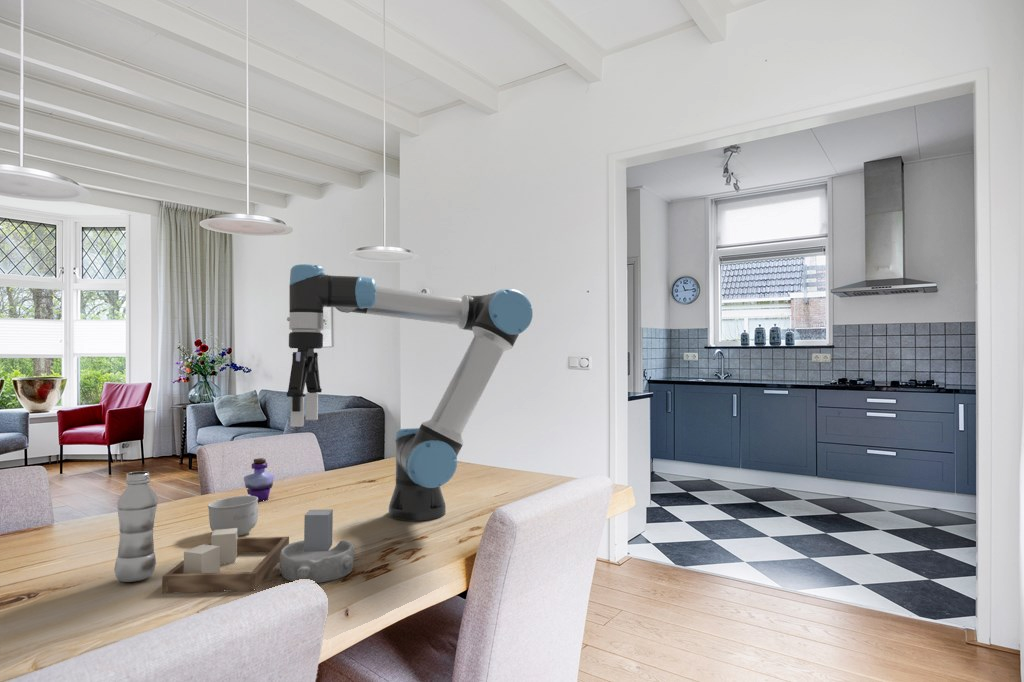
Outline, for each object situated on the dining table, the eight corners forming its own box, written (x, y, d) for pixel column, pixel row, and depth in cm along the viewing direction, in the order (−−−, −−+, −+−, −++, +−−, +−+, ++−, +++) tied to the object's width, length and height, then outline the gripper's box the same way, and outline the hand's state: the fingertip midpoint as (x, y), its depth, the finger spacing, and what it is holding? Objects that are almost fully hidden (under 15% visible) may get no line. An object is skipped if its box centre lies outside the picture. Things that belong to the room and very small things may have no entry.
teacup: (238, 542, 134) (238, 506, 134) (196, 539, 136) (197, 504, 136) (274, 525, 148) (275, 493, 148) (236, 522, 150) (236, 490, 150)
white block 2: (236, 556, 125) (237, 527, 125) (235, 562, 121) (235, 533, 121) (213, 559, 123) (213, 529, 123) (210, 565, 119) (211, 535, 119)
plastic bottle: (126, 574, 114) (128, 470, 115) (162, 573, 115) (165, 469, 115) (106, 587, 108) (108, 476, 108) (145, 586, 108) (147, 476, 109)
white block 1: (219, 577, 113) (219, 546, 113) (201, 586, 108) (201, 553, 108) (201, 575, 114) (202, 544, 114) (183, 584, 109) (183, 551, 109)
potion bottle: (280, 497, 177) (281, 456, 177) (264, 504, 168) (265, 461, 169) (253, 495, 178) (254, 455, 178) (236, 502, 170) (237, 460, 170)
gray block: (332, 544, 118) (332, 509, 118) (327, 551, 114) (328, 514, 114) (309, 545, 118) (309, 509, 118) (303, 551, 114) (304, 515, 114)
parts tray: (288, 550, 129) (289, 536, 129) (255, 590, 107) (255, 573, 107) (212, 552, 127) (212, 538, 127) (162, 593, 105) (162, 576, 105)
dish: (279, 565, 120) (279, 541, 120) (349, 557, 125) (350, 533, 125) (279, 592, 106) (279, 564, 107) (358, 582, 112) (358, 555, 112)
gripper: (302, 333, 150) (301, 417, 149) (273, 329, 125) (271, 429, 124) (333, 333, 151) (332, 417, 150) (309, 329, 126) (308, 429, 125)
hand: (304, 423), depth 137 cm, fingers open, 13 cm apart
